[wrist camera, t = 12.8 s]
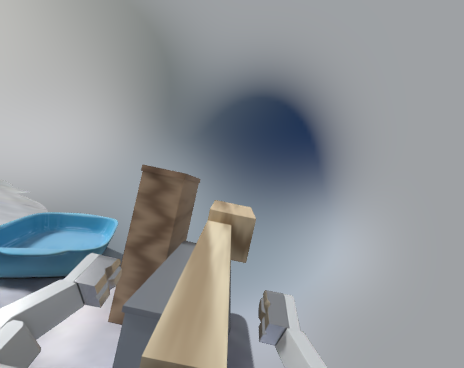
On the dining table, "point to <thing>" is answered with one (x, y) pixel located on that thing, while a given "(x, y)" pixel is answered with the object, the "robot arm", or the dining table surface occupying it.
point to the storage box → (151, 307)
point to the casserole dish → (51, 243)
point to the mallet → (202, 295)
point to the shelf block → (154, 229)
